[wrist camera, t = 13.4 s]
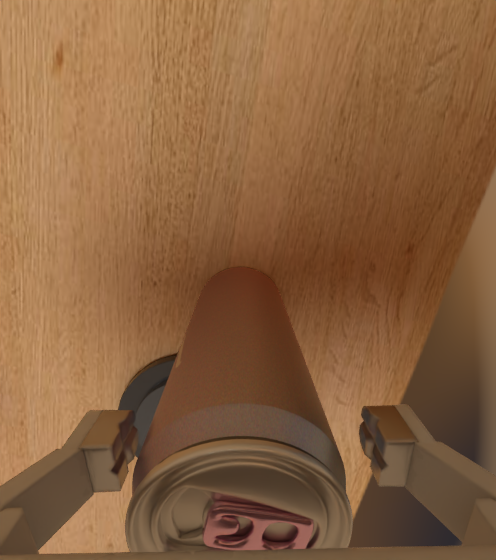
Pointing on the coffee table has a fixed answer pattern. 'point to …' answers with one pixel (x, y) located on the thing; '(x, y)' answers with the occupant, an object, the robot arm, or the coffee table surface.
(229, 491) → the beverage can
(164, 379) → the saucer
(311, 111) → the coffee table surface
